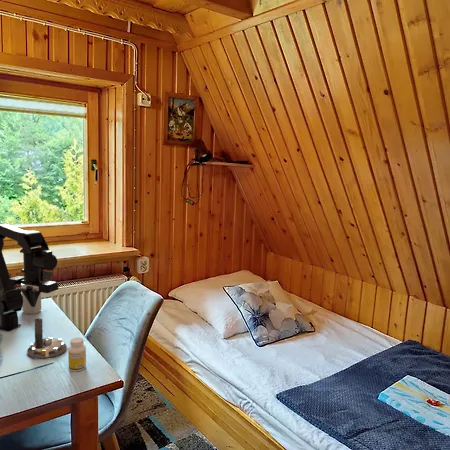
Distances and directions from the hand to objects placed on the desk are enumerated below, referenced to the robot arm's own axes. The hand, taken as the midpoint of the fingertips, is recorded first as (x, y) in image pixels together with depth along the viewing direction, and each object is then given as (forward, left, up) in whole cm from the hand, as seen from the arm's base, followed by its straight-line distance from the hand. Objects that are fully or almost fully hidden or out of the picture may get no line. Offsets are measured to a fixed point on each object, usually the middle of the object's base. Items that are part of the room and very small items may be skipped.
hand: (33, 306), depth 159 cm
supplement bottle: (+29, -13, -12) cm, 34 cm away
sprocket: (+12, -7, -11) cm, 18 cm away
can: (-19, +20, -12) cm, 30 cm away
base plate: (+12, -7, -12) cm, 18 cm away
